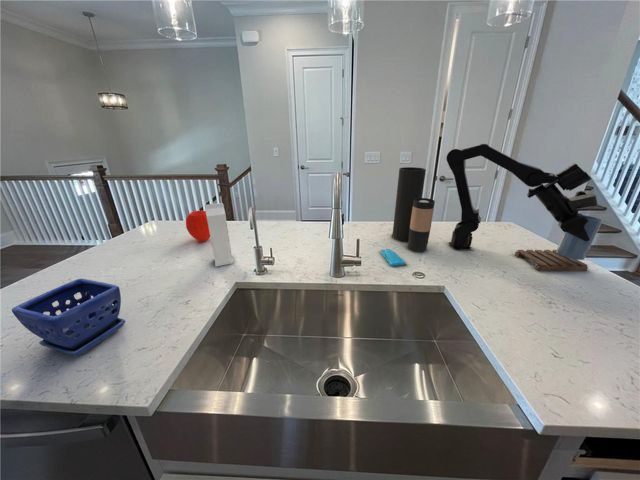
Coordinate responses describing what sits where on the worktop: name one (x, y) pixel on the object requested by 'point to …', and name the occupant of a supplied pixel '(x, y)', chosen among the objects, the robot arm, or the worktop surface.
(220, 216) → the milk
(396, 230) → the vase
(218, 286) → the worktop surface
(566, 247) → the tumbler
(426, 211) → the travel mug
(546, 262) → the drying rack
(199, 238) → the apple
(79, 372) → the worktop surface
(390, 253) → the sponge
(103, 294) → the flower pot
